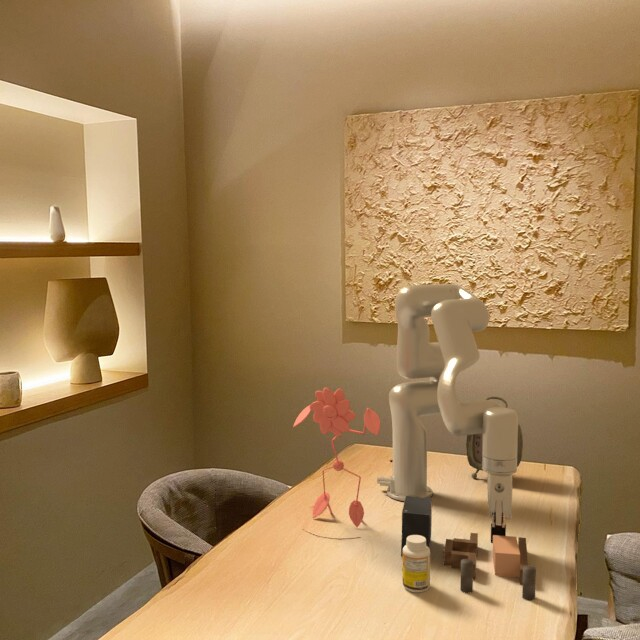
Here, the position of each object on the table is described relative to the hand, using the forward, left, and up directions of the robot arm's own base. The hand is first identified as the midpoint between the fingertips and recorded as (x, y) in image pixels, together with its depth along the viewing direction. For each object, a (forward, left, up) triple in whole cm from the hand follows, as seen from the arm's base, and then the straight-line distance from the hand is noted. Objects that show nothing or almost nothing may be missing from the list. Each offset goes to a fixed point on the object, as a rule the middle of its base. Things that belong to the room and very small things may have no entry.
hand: (498, 542), depth 155 cm
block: (+2, -6, -3) cm, 7 cm away
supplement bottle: (-16, -20, -3) cm, 26 cm away
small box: (-18, -2, -3) cm, 18 cm away
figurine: (-40, +6, -3) cm, 41 cm away
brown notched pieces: (-2, -9, -2) cm, 10 cm away
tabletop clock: (-1, +50, -3) cm, 50 cm away
